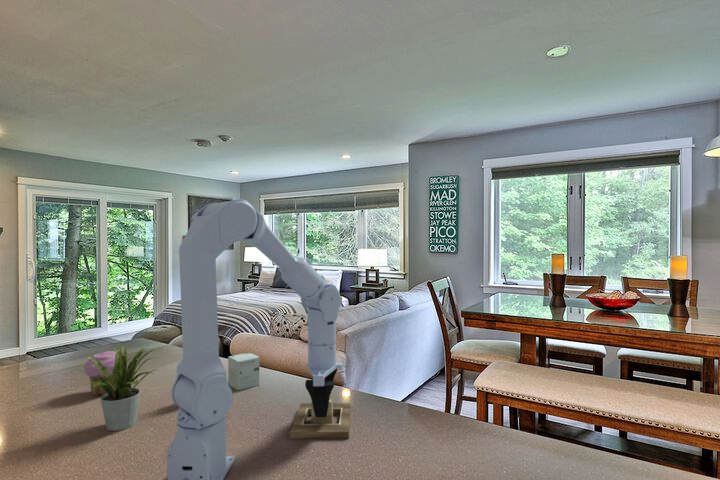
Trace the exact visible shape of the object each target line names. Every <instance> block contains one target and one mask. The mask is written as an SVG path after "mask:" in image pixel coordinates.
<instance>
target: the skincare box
mask: <svg viewBox="0 0 720 480" xmlns="http://www.w3.org/2000/svg"><path fill="white" fill-rule="evenodd" d="M227 366H228V367H227V368H228V369H227V370H228V371H227V373H228V374H227V375H228V376H227V378H228V379H227V383H228V385H229V387H230V388H233V389H235V390H237V391H242V390H245V389H248V388H253V387H257V386H260V356H259V355H256V354H253V353H252V352H245V353H238V354H235V355H230V356H228V357H227Z"/></svg>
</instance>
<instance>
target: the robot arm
mask: <svg viewBox="0 0 720 480" xmlns="http://www.w3.org/2000/svg"><path fill="white" fill-rule="evenodd" d="M192 219H193V221H192V223H191V225H190V226H189V228H188V230H187V232H186V234H185V235H184V237H183V239H182V241H181V242H180V245H179V251H178V253H179V257H178V258H179V259H178V260H179V279H180V280H179V281H180V285H179V287H180V309H181V337H182V343H181V344H182V359H181V360H180V362H179V363H178V364H177V365H176V376H175V380H174V382H173V385H172V387H171V390H170V391H171V393H170V394H171V399H172V402H173V404H175V405H176V406H177V407H178V412H177V418H176V432H175V433H176V434H175V436H174V438H173V440H172V442H171V443H170V445H169V446H168V448H167V449H168V450H167V452H166V453H167V454H166V464H167V465H166V469H167V472H166V473H167V475H166V477H167V480H224V479H225V477H226V475H227V473H228V472H229V470H230V468H231V467H232V465H233V463H234V461H235V459H236V457H235V456H233V455H228V456H227V433H226V432H227V427H226V425H227V423H226V421H227V420H226V419H227V418H226V417H227V414H228V413H229V412H230V409H231V408H232V405H233V402H234V395H233V391H232V389H231V388H232V387H231V386H230V385H229V384H228V379H227V378H228V377H227V371H226V369H225V366H224V365H223V363H222V361H221V358H220V356H219V355H220V352H219V351H220V350H219V349H220V348H219V346H220V345H219V323H218V322H219V321H218V319H219V317H218V293H217V292H218V290H217V265H216V264H217V263H216V262H217V261H216V260H217V258H218V257H219V256H220V255H221V254H223V252H225V250H227V249H228V248H229V247H230V246H231V245H233V244H235V243H237V242H241V243H247V244H250V245H253V247H255V248H256V249H257V250H258V251H259V252H260V253H262V254H263V255H264V256H265V257H267V258H268V259H269V260H270V261H271V262H272V263H273V264H274V265H276V266H277V267H278V268H279V269H280V270H281V272H280V273H281V275H280V276H281V280H282V281H283V282H284V283H286V285H287V286H288V287H290V288H291V289H292V290H293V291H294V292H295V294H297V295H298V296H299V297H300V302H301V305H302V306H303V307H304V308H305V309H307V365H306V367H307V370H308V372H309V373H310V375H312V379H306V380H305V383H304V386H305V389H306V391H307V392H308V395H309V397H310V400H311V402H312V404H313V409H314V413H315V416H316V417H326V416H327V411H328V405H329V398H330V394H332V391H333V389H334V388H335V387H334V386H335V383H336V381H334V379H335V376H336V374H337V372H338V369H342V367H343V362H341V361H337V318H338V317H339V310H340V308H341V305H342V303H343V296H341V292H340V291H339V289H338V288H337V287H336V285H334V284H332V283H327V281H326V278H325V276H324V275H320V273H319V272H318V271H317V270H316V269H315V268H314V267H313V266H312V264H313V262H312V261H311V260H310V259H309V258H305V257H302V256H298V257H295V256H294V255H293V253H292V252H291V251H290V250H289V249H288V247H286V246H285V244H284V243H283V241H282V240H281V239H280V238H279V237H278V235H276V233H275V232H274V231H273V230H272V229H271V228H270V226H269V225H268V223H267V222H266V220H265V217H264V215H263V214H262V213H261V212H259V211H258V210H256V208H255V207H254V206H253V204H252V203H250V201H248V200H245V199H243V198H242V199H240V198H235V199H232V200H229V201H228V200H227V201H222V202H212V203H208V204H206V205H205V206H204V207H202V208H200V209H199V210H198V211H197V212H195V213H194V214H193V218H192Z"/></svg>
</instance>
